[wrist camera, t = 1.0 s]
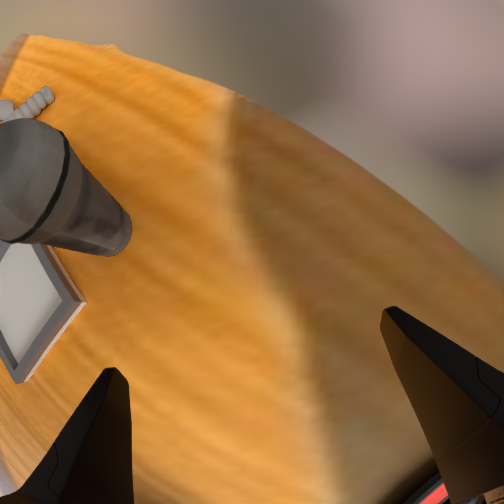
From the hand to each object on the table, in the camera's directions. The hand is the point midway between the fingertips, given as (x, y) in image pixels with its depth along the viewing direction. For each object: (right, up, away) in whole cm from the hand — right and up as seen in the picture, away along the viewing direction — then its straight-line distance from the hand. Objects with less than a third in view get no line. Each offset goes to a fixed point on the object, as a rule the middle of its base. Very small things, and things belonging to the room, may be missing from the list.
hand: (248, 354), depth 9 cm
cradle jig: (-24, -2, +14) cm, 28 cm away
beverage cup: (-12, +5, +15) cm, 20 cm away
